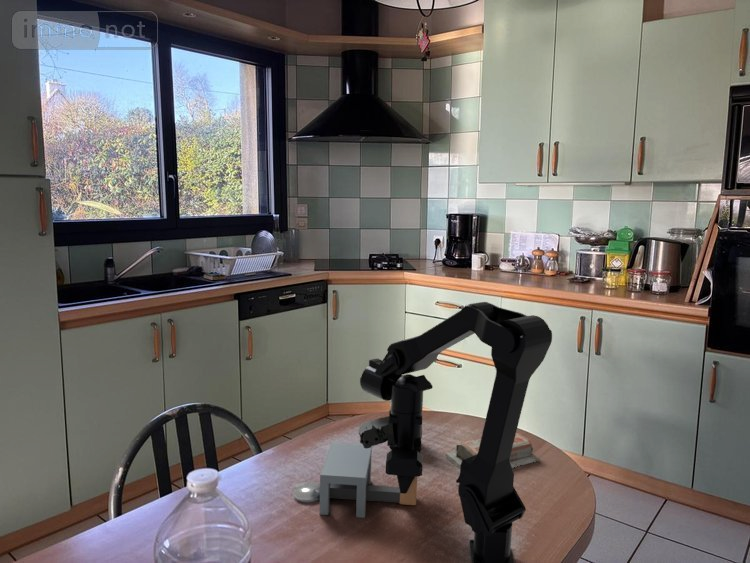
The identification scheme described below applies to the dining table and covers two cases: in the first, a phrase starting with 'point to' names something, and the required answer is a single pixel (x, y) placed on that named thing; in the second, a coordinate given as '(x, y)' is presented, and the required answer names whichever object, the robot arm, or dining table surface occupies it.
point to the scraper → (376, 493)
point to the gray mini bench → (346, 473)
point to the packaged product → (518, 456)
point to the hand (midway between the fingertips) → (403, 488)
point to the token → (307, 491)
